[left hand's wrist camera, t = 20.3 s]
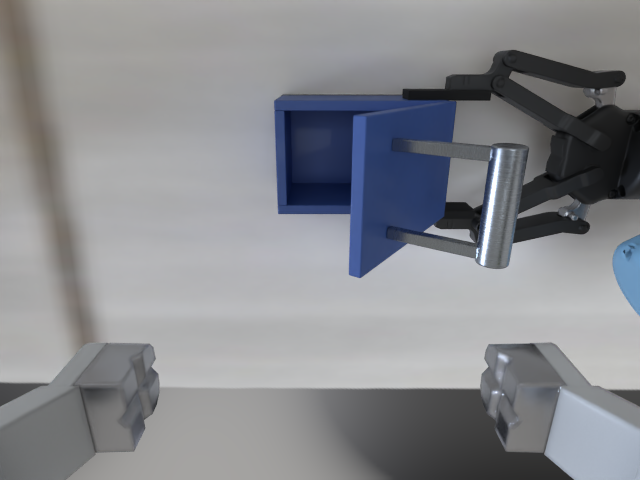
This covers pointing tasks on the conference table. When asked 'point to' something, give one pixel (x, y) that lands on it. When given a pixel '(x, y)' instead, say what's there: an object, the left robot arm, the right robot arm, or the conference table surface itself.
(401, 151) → the lid
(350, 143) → the chest
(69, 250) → the conference table surface
